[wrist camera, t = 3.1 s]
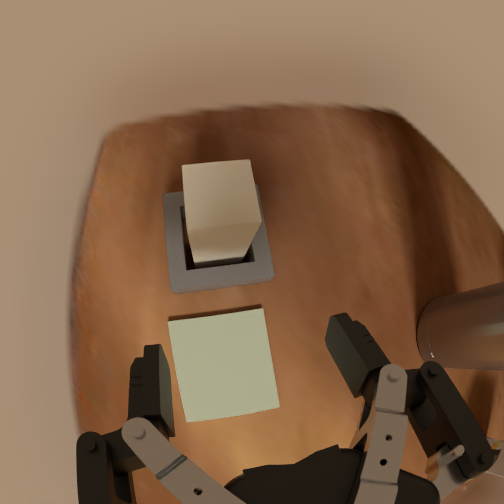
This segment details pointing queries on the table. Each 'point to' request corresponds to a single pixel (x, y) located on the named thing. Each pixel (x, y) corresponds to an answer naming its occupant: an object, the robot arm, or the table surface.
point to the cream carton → (220, 211)
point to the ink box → (497, 457)
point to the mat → (223, 365)
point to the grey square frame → (213, 276)
